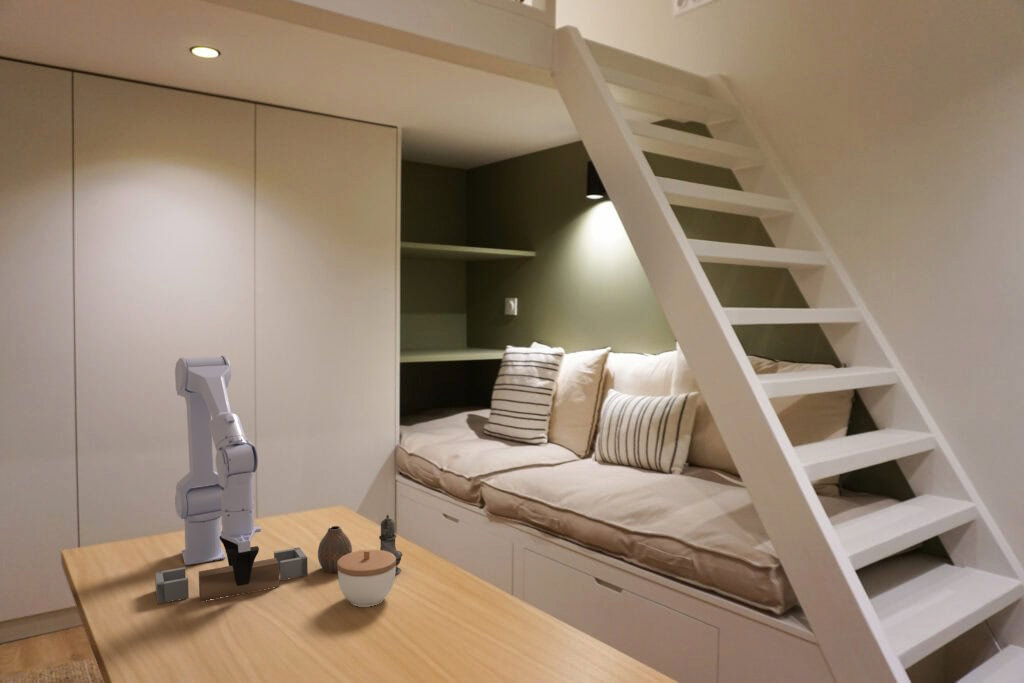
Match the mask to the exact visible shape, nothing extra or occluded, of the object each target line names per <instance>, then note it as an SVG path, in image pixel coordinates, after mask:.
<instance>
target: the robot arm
mask: <svg viewBox="0 0 1024 683" xmlns="http://www.w3.org/2000/svg"><path fill="white" fill-rule="evenodd" d="M231 366H232V365H231V362H230V360H229V358H227V356H225V355H221V356H206V357H203V356H202V357H188V358H187V357H186V358H185V357H179V358H178V359H177V361H176V364H175V367H174V368H175V369H174V377H175V378H174V379H175V391H176V395H177V396H180V397H183V398H184V401H185V404H186V420H187V424H186V425H187V441H188V466H189V472H188V473H186V475H184V476H183V477H182V478H181V479H179V480H178V481H177V482H176V487H175V498H174V505H175V506H174V507H175V512H176V515H177V516H178V518H180V519H181V520H184V544H185V545H184V549H181V555H182V558H183V563H184V566H191V565H192V566H193V565H195V564H196V565H197V564H203V563H208V562H214V561H213V560H215V561H221V560H224V559H227V563H228V566H232V567H233V571H234V577H235V581H236V584H237V586H241V585H246V584H249V581H250V577H251V571H252V566H253V563H254V562H255V559H256V557H257V555H258V554H259V551H260V548H259V546H258V545H256V546H251V541H252V539H253V537H254V536H255V534H256V533H260V532H261V531H262V528H261V526H259V525H255V506H254V504H255V500H254V474H255V473H256V471H257V470H258V467H259V466H258V464H259V463H258V462H259V460H258V459H259V458H258V451H257V448H256V445H255V444H254V443H253V442H251V441H252V440H251V438H247V437H246V434H245V431H244V428H243V425H242V422H241V420H240V417H239V416H238V414H236V413H233V412H232V410H231V405H230V402H229V401H230V400H229V395H228V391H227V388H228V387H229V383H230V380H231V377H232V367H231ZM213 445H214V447H215V450H216V452H215V453H216V454H215V468H216V471H214V470H215V469H214V453H213V451H214V449H213ZM253 473H254V474H253ZM222 544H223V546H224V549H223V548H222ZM224 550H225V551H224ZM226 557H227V558H226ZM220 559H221V560H220Z"/></svg>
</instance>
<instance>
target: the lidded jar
mask: <svg viewBox="0 0 1024 683" xmlns="http://www.w3.org/2000/svg"><path fill="white" fill-rule="evenodd" d="M337 569H338V572H337V579H338V585H339V588H340V590H341V591H340V592H341V593H342V595H343V596H344V597H345V599H346V600H348V601H349V602H350V604H351V605H352V604H353V605H352V606H354V605H355V606H354V607H356V606H358V608H371V607H370V606H372V607H375V606H374V605H376V606H378V605H380V604H381V602H382V601H383V600H385V599H386V597H388V595H389V594H390V593H391V591H392V589H393V587H394V584H395V580H396V576H395V570H396V557H395V555H394V554H392V553H390V552H387V551H383V550H380V549H364V550H362V549H361V550H358V551H352V553H349V554H346V555H344V556H342V557H341V558H340V559H339V560H338V562H337ZM383 602H384V601H383ZM383 602H382V603H383ZM379 603H380V604H379ZM377 604H378V605H377Z"/></svg>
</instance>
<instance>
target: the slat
mask: <svg viewBox="0 0 1024 683" xmlns="http://www.w3.org/2000/svg"><path fill="white" fill-rule="evenodd" d="M278 586H279V587H280V570H279V562H278V561H277V559H276V558H274V557H273V558H267V559H262V560H257V561H255V560H254V563H253V566H252V571H251V577H250V581H249V584H246V585H241V586H237V584H236V581H235V577H234V571H233V567H232V566H229V565H228V566H221V567H217V568H211V569H205V570H199V571H198V590H199V592H198V594H199V595H198V596H200V597H199V600H200V602H201V601H205V602H207V601H206V600H210V599H215V600H217V599H216V598H220V597H226V596H231V597H233V596H232V595H236V596H238V595H237V594H241V595H243V594H242V593H246V594H249V593H248V592H251V593H254V592H253V591H256V592H260V591H259V590H262V591H265V590H264V589H267V590H269V589H268V588H272V589H274V588H273V587H277V588H279V587H278ZM226 598H227V597H226ZM210 601H211V600H210Z"/></svg>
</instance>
